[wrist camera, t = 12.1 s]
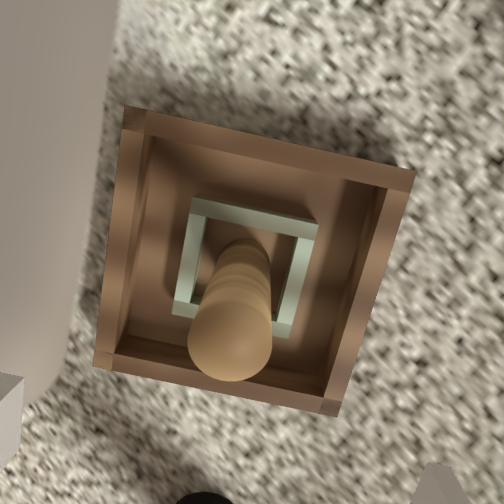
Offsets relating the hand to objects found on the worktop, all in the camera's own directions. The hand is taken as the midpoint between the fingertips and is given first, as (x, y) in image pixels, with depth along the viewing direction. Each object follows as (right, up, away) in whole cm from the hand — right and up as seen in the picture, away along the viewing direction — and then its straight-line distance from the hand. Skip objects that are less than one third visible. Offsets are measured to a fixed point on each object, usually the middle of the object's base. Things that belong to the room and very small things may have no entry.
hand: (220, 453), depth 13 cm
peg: (0, +5, +21) cm, 22 cm away
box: (0, +6, +22) cm, 23 cm away
